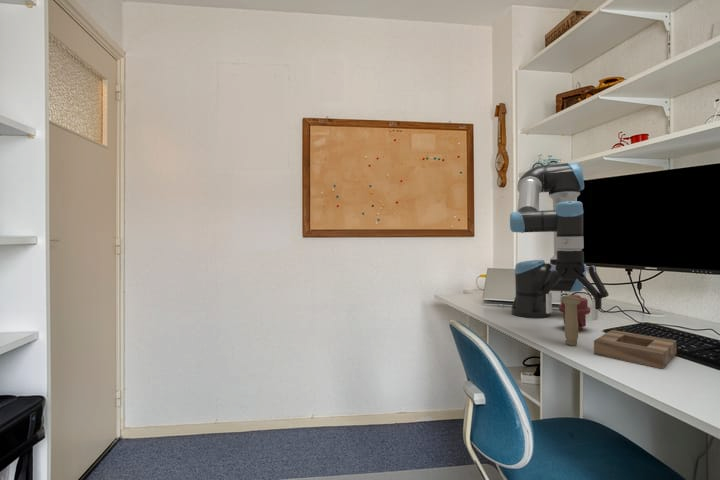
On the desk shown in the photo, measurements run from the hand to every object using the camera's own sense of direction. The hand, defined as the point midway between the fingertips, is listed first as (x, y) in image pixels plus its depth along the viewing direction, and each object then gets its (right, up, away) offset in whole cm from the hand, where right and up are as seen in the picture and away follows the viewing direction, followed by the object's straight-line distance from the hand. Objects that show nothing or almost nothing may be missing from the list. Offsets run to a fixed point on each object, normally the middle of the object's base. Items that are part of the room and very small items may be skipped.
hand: (571, 316), depth 117 cm
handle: (0, -9, +1) cm, 9 cm away
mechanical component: (+11, -9, +17) cm, 22 cm away
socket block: (+13, -9, -10) cm, 19 cm away
